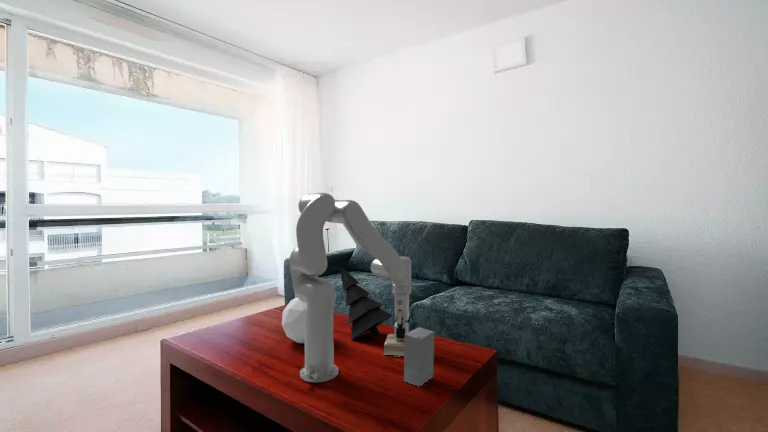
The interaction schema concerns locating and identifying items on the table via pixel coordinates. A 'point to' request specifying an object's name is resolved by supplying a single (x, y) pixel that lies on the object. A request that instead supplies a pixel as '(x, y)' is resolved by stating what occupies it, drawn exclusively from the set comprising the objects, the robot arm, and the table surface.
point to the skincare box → (418, 356)
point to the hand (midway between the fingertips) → (401, 335)
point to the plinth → (394, 346)
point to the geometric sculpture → (294, 320)
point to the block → (404, 327)
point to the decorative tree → (362, 308)
